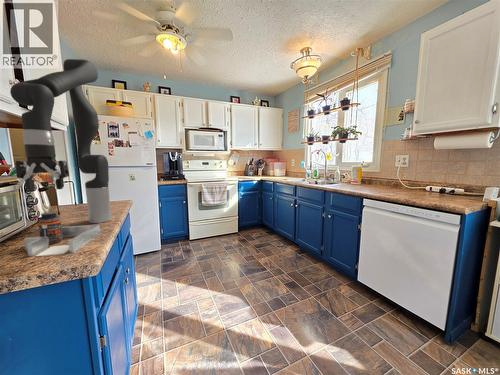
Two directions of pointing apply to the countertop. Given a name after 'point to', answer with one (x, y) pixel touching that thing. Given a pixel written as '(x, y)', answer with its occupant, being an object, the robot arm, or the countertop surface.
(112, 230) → the countertop surface
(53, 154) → the robot arm
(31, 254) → the grey angled wall frame
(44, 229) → the supplement bottle
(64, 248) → the pad
